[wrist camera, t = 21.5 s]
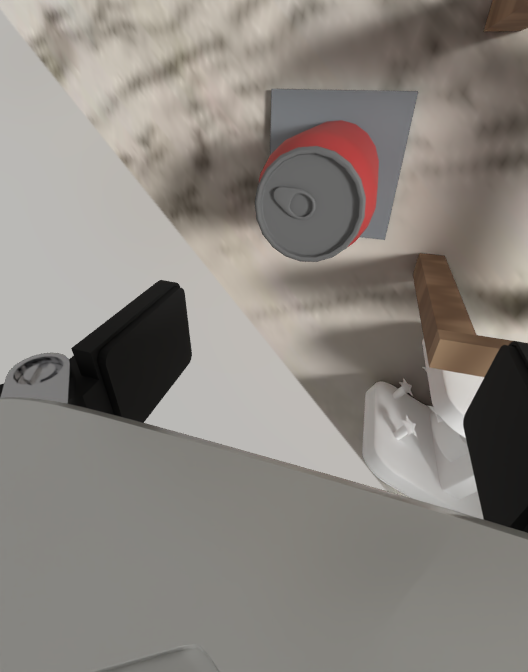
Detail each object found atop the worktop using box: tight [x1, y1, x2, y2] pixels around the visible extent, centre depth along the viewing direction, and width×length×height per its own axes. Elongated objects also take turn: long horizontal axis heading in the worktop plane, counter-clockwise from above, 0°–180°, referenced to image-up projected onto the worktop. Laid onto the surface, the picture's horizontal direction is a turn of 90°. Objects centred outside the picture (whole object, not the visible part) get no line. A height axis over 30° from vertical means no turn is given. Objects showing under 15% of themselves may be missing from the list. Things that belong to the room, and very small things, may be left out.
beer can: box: [255, 120, 379, 262], centre depth 22 cm, size 7×7×12 cm
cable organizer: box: [362, 339, 484, 520], centre depth 31 cm, size 15×11×12 cm
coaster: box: [270, 89, 418, 240], centre depth 27 cm, size 10×10×1 cm
